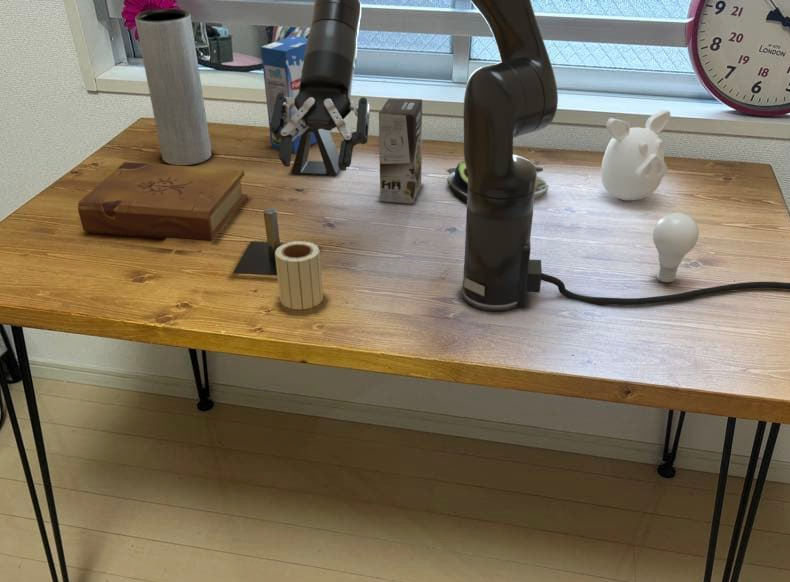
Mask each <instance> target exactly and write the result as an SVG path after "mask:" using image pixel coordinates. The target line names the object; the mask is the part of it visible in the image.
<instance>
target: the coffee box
mask: <svg viewBox="0 0 790 582" xmlns="http://www.w3.org/2000/svg"><path fill="white" fill-rule="evenodd" d="M422 142H423V99H420V98H388V99H387V100H386V102H385V103H384V105H383V106H382V108H381V109H380V111H379V112H378V143H379V145H378V146H379V147H378V148H379V149H378V151H379V201H380V202H386V203H398V204H407V205H408V204H409V205H412V204H414V203H415V200H416V197H417V196H418V194H419V191H420V189H421V187H422V170H423V169H422V167H423V166H422V163H423V162H422V157H423V156H422V155H423V154H422V153H423V152H422V146H423V145H422Z"/></svg>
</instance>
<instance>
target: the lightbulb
mask: <svg viewBox="0 0 790 582" xmlns="http://www.w3.org/2000/svg"><path fill="white" fill-rule="evenodd" d="M699 231H700V230H699V226H698V224H697V222H696V220H695V219H694V217H692V216H690V215H689V214H687V213H685V212H679V211H676V212H670V213H667V214H665V215H664V216H662V217H661V218H660V219H659V220H658V221H657V223H656V224H655V226H654V228H653V231H652V240H653V245H654V246H655V248H656V250H657V254H658V261H659V266H658V271H657V274H656V278H657V279H658V280H659V281H661V282H662V283H665V284H666V283H672V282H673V281H676V277H677V272H678V269H679V268H678V267H679V266H680V264H681V263H682V261H683V259H684V258H685V256H686V255H687V254H689V253H690V252H691V251H692V249H694V247H696V245H697V242H698V241H699V239H698V238H699Z"/></svg>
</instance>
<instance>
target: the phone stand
mask: <svg viewBox="0 0 790 582" xmlns="http://www.w3.org/2000/svg"><path fill="white" fill-rule="evenodd" d="M302 121H303V119H302ZM312 132H313V133H314V134H315V137H316V141H317V142H316V143H317V146H318V150H319V153H320V156H321V159H322V161H309V160H308V159H309V153H310V148H311V145H310V143H311V137H312ZM339 154H340V153H339V151H338V149H337V146H336V144H335V142H334V139H333V137H332V134H331V131H329V130H324V129H317V130H313V129H311V128H310V127H309V128H308V129H307V130H306V131H305V132H304V133H303V134H302V135H301V139H300V143H299V146H298V150H297V152H296V153H295V157H294V161H293V163H292V169H291V174H292V175H299V176H300V175H303V176H323V177H324V176H325V177H336V176H337V174H338V173H339V171H340V169H339V167H338V160H339Z"/></svg>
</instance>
